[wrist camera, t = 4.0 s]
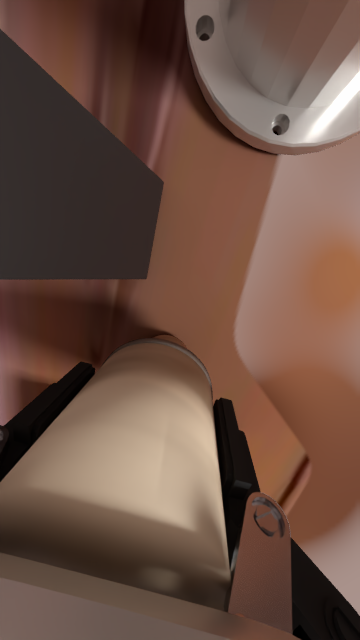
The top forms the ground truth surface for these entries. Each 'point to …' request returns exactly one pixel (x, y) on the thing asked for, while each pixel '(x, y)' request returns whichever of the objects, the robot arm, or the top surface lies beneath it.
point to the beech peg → (128, 480)
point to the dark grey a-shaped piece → (67, 184)
